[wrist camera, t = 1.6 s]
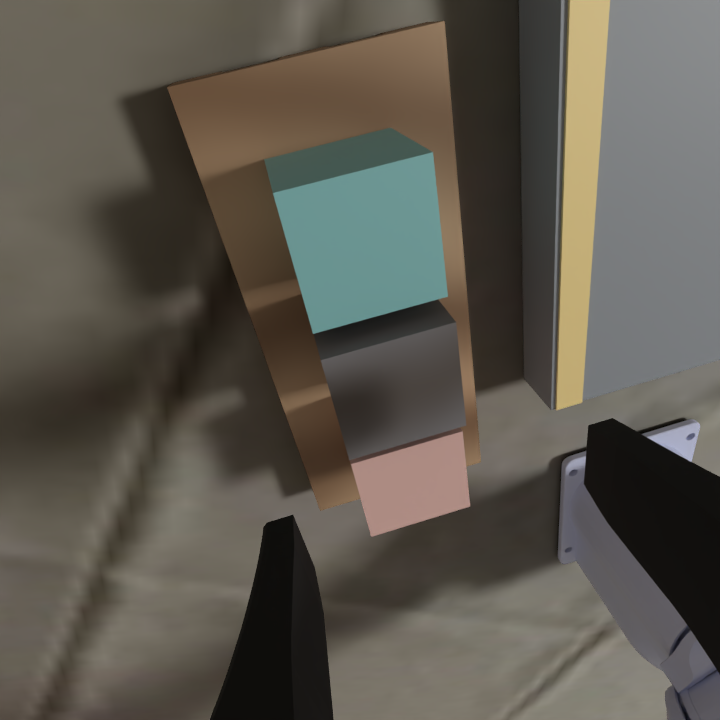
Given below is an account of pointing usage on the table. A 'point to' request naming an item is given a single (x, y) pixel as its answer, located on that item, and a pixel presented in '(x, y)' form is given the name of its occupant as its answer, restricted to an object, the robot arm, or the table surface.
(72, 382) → the table surface
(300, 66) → the pallet
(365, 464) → the crate rose
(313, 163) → the block
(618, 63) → the grey flat block
